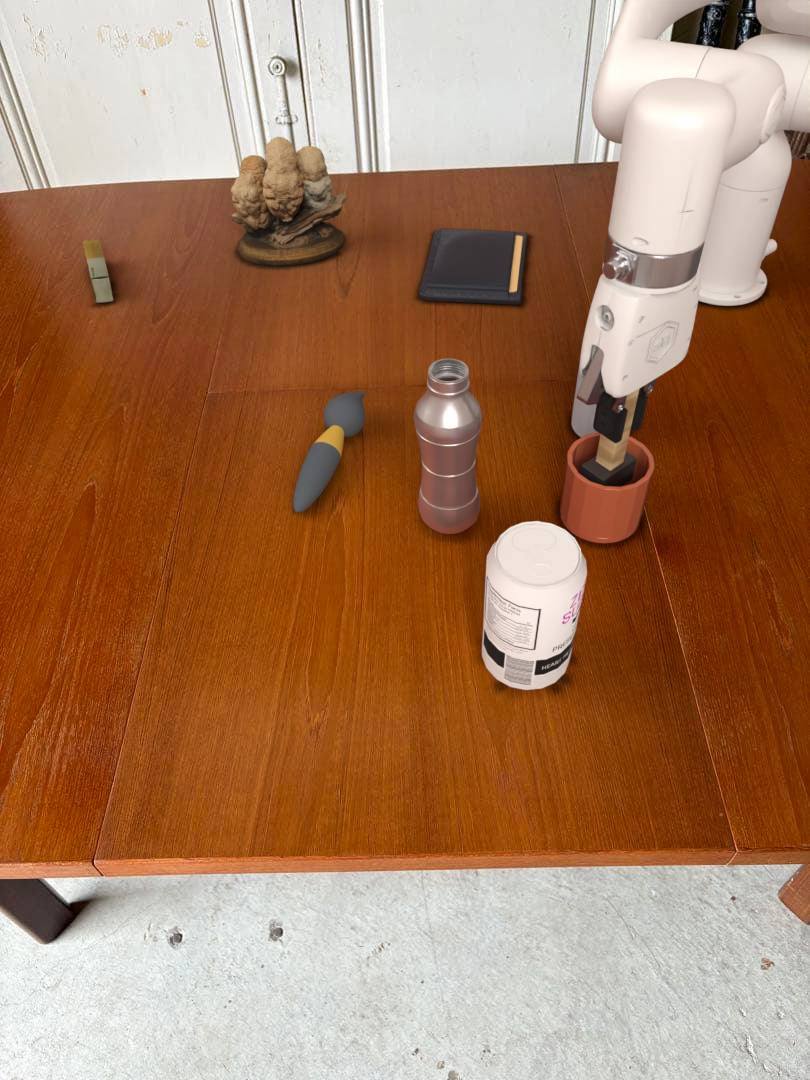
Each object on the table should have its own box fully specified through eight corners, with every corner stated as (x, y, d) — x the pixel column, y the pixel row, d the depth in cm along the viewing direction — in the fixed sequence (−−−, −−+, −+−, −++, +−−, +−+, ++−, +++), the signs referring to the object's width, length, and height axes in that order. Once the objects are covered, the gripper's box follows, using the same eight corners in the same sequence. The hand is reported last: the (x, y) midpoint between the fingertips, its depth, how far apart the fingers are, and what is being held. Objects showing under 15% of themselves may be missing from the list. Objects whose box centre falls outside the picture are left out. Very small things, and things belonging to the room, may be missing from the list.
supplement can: (475, 625, 79) (479, 520, 68) (559, 617, 80) (577, 512, 68) (488, 697, 74) (494, 597, 63) (577, 689, 74) (600, 587, 63)
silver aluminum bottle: (475, 545, 86) (480, 395, 71) (412, 537, 87) (405, 388, 72) (483, 502, 90) (490, 352, 75) (423, 495, 91) (418, 346, 76)
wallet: (435, 220, 129) (532, 225, 127) (435, 231, 131) (531, 237, 128) (413, 288, 116) (520, 295, 114) (414, 300, 118) (519, 307, 115)
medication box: (115, 302, 121) (109, 277, 118) (96, 304, 120) (90, 279, 117) (105, 261, 128) (99, 237, 125) (87, 263, 127) (81, 239, 124)
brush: (610, 464, 87) (631, 363, 77) (632, 479, 85) (656, 378, 75) (577, 486, 85) (594, 385, 75) (599, 502, 83) (619, 401, 73)
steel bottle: (598, 399, 101) (616, 292, 90) (640, 426, 98) (665, 318, 86) (559, 423, 99) (573, 315, 87) (601, 451, 95) (622, 343, 84)
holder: (597, 475, 92) (607, 420, 86) (656, 516, 88) (672, 462, 82) (543, 510, 89) (549, 457, 83) (602, 556, 84) (613, 502, 78)
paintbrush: (330, 524, 89) (325, 491, 85) (287, 517, 90) (280, 485, 86) (375, 410, 102) (372, 377, 98) (337, 405, 103) (333, 373, 99)
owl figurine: (348, 223, 134) (337, 114, 121) (353, 260, 126) (342, 147, 113) (238, 233, 133) (216, 124, 120) (236, 271, 125) (212, 159, 112)
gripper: (621, 310, 60) (588, 487, 74) (752, 237, 67) (700, 413, 80) (548, 270, 64) (530, 445, 78) (678, 206, 71) (640, 378, 84)
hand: (616, 427), depth 79 cm, fingers closed on brush, 2 cm apart
